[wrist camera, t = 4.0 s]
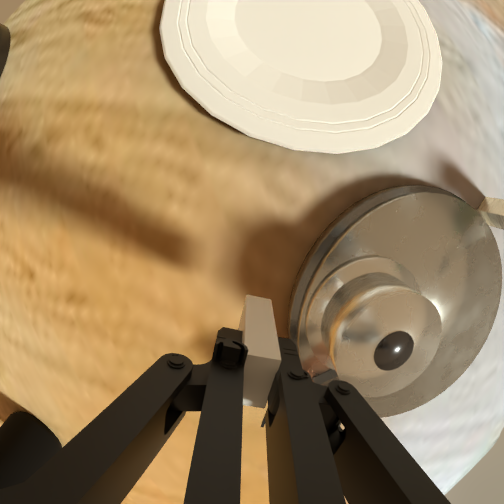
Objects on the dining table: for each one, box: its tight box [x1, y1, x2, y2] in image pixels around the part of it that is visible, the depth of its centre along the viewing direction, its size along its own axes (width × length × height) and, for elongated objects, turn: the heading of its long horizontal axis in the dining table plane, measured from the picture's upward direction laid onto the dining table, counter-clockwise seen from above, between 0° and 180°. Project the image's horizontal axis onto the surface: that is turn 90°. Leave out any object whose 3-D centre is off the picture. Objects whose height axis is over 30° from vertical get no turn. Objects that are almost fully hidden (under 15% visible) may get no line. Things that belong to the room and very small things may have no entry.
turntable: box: [297, 192, 502, 418], centre depth 20 cm, size 25×22×6 cm
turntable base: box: [288, 185, 504, 362], centre depth 20 cm, size 25×23×8 cm
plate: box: [159, 0, 442, 154], centre depth 18 cm, size 25×25×2 cm
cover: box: [305, 255, 442, 397], centre depth 18 cm, size 10×10×6 cm
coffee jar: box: [0, 412, 62, 489], centre depth 21 cm, size 11×11×18 cm
